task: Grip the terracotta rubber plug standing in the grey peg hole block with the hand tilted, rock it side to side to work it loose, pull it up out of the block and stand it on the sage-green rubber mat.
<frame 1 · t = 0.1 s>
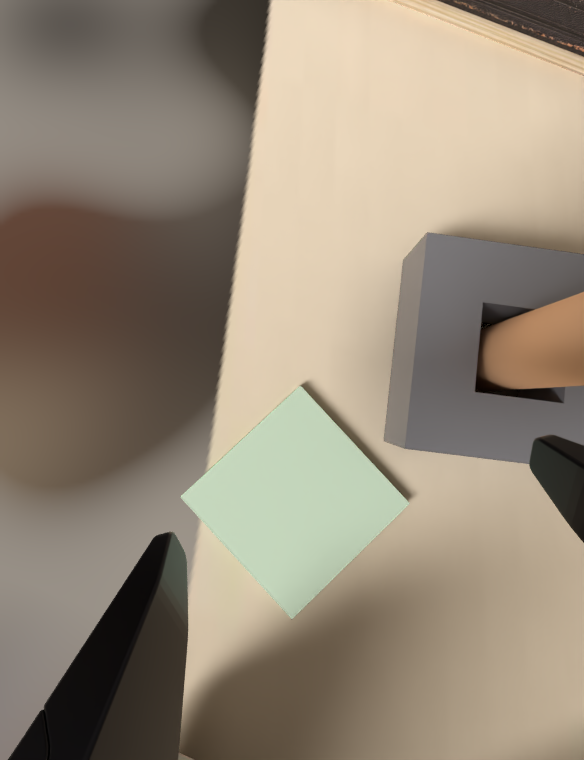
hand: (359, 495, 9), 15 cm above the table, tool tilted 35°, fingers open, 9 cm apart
grey peg hole block: (483, 360, 25), on the table
plug: (549, 347, 19), in the grey peg hole block
mat: (295, 497, 24), on the table
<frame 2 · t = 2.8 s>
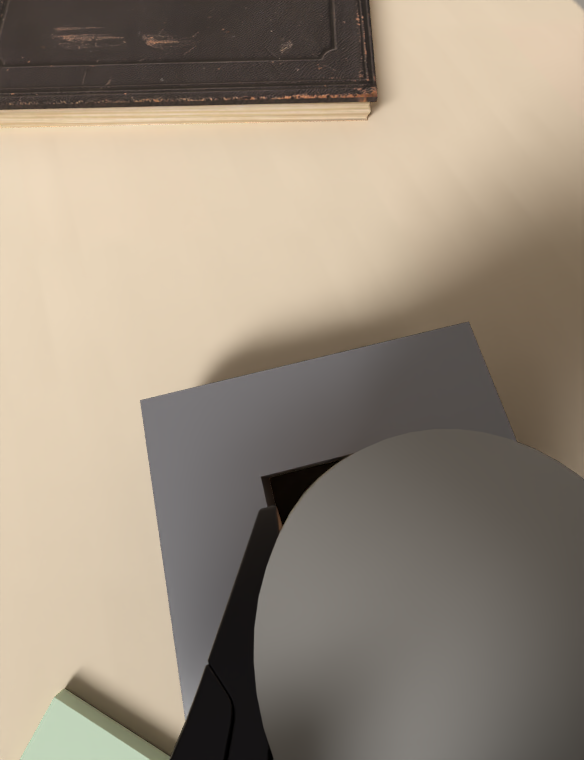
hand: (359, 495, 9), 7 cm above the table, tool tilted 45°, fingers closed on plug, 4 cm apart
grey peg hole block: (341, 523, 16), on the table
hardcover book: (181, 42, 24), on the table
plug: (367, 547, 10), in the grey peg hole block, touching gripper
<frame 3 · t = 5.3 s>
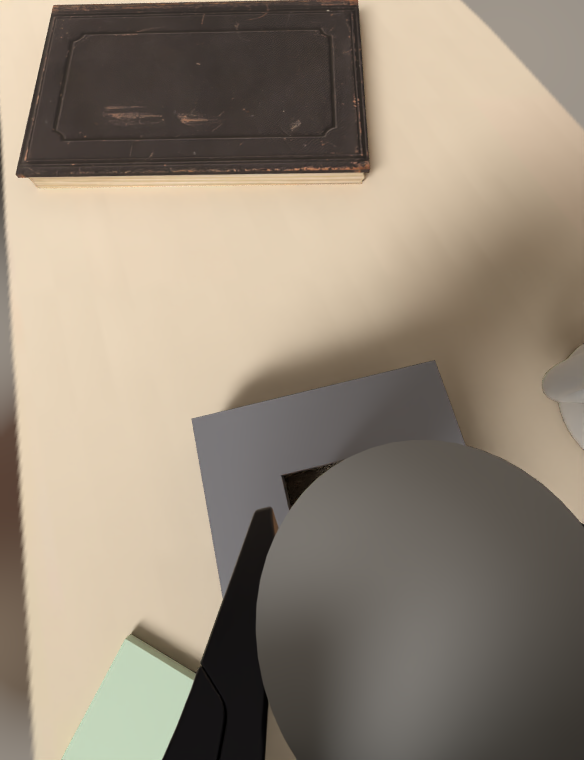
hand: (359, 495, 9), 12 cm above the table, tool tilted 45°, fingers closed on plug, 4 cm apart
grey peg hole block: (339, 511, 20), on the table
hardcover book: (207, 110, 29), on the table
plug: (369, 541, 11), point 10 cm above the table, touching gripper
when the fingers open (9 cm above the table, at t = 7.7 s): plug stays where it is, resting on mat.
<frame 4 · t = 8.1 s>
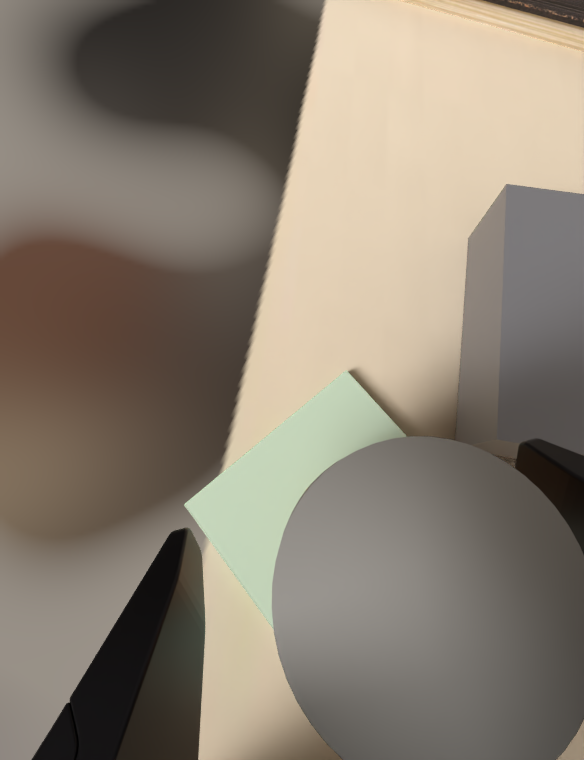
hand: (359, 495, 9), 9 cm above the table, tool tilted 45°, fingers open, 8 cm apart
grey peg hole block: (579, 353, 19), on the table
plug: (362, 537, 11), on the mat, point 7 cm above the table
mat: (336, 518, 17), on the table
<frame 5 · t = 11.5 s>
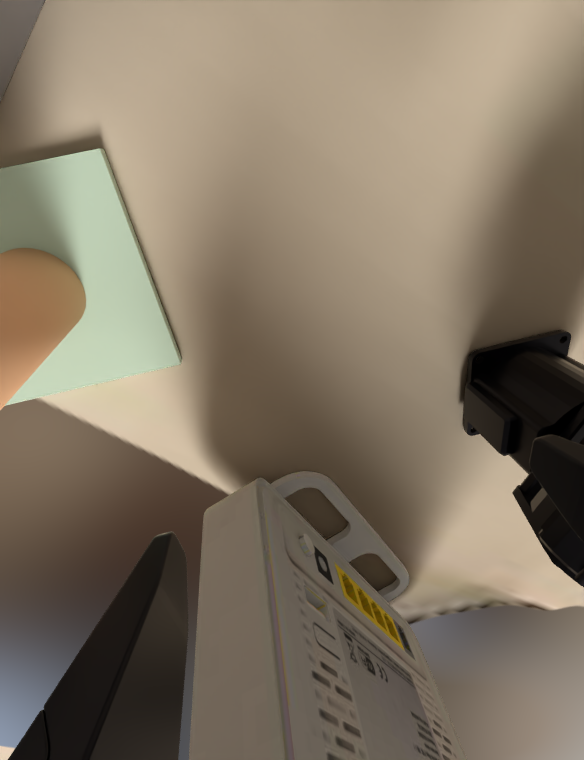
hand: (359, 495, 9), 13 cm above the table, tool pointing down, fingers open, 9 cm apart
network device: (325, 551, 31), on the table
mat: (44, 291, 18), on the table
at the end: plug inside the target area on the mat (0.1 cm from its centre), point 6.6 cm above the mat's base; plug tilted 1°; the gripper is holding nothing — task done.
